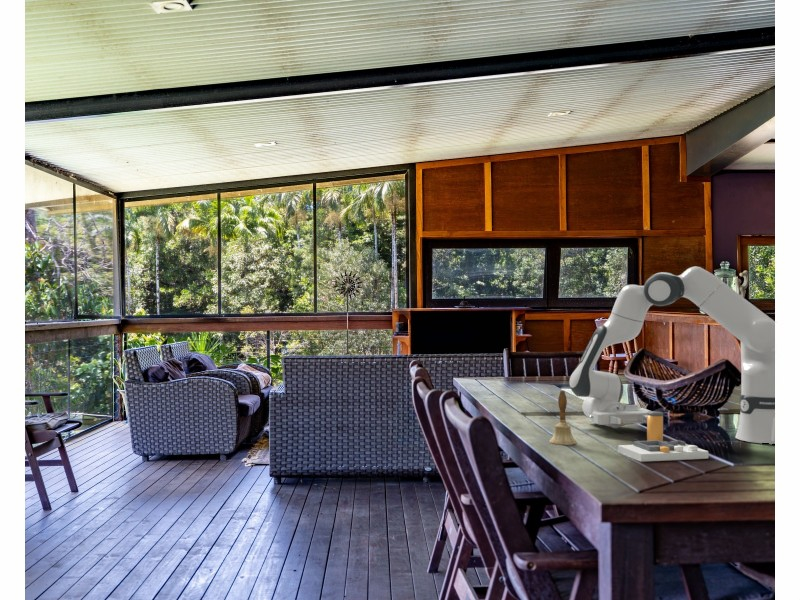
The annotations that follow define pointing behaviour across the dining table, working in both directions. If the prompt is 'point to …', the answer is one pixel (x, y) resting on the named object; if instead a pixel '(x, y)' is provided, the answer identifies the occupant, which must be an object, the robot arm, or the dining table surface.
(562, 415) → the hand bell
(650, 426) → the orange capped cylinder
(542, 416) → the dining table surface
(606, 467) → the dining table surface
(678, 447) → the board
